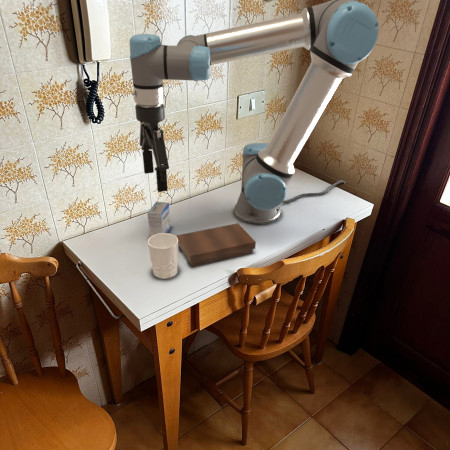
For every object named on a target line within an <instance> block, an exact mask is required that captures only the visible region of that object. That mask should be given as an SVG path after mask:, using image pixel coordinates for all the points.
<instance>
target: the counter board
mask: <svg viewBox="0 0 450 450" xmlns="http://www.w3.org/2000/svg"><path fill="white" fill-rule="evenodd" d="M175 236H176V237H177V238H178V248H179V249H180V251H182V252H183V254H184V256H185V257H186V259H187V260H188V262H189V264H190V266H191V267H197V266H203V265H207V264H210V263H217V262H219V261H224V260H228V259H233V258H237V257H241V256H246V255H250V254H253V250H256V243H257V242H256V240H255V239H254V238H253V237H252V236H251V235H250V234H249V233H248V232H247V231H246V230H245V228H243V226H242V225H241V224H240V223H239V222H236V223H231V224H226V225H221V226H217V227H212V228H207V229H201V230H196V231H191V232H187V233H181V234H177V235H175Z"/></svg>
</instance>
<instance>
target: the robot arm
mask: <svg viewBox="0 0 450 450" xmlns="http://www.w3.org/2000/svg"><path fill="white" fill-rule="evenodd" d="M379 29H380V28H379V21H378V17H377V16H376V14H375V12H374V11H373V9H371V7H369V5H367V4H366V3H363V2H362V1H359V0H329V1H326V2H322V3H319V4H315V5H312V6H311V5H310V6H307V7H304V8H303V10H302V11H301V12H300V13H297V14H292V15H287V16H283V17H278V18H273V19H268V20H263V21H258V22H253V23H249V24H245V25H240V26H235V27H230V28H226V29H221V30H217V31H211V32H207V33H202V34H198V35H193V34H188V35H185V36H183V37H182V38H180V39H179V41H178V42H177V43H176V45H166V44H162V42H161V41H162V40H161V37H160V36H159V35H157V34H151V33H140V34H134V35H132V36H131V37H130V38H129V60H130V68H131V77H132V86H133V91H131V95H132V96H134V97H133V98H134V103H135V106H134V110H135V118H136V121H138V122H139V123H140V127H139V146H140V148H141V152H142V162H143V173H144V174H145V175H146V174H153V173H155V177H156V190H157V193H162V192H168V191H169V189H168V173H167V172H168V171H167V170H169V169H170V165H169V160H168V154H167V149H166V144H165V143H166V142H165V138H164V137H165V136H164V130H163V129H161V127H160V126H159V123H161V122H163V121H165V119H166V113H165V112H166V111H165V105H164V103H165V92H164V91H165V90H164V81H163V80H167V81H169V80H170V81H171V80H172V81H193V82H199V81H208V80H209V79H210V76H211V66H214V65H218V64H224V63H228V62H234V61H238V60H239V61H240V60H244V59H249V58H254V57H258V56H265V55H269V54H274V53H279V52H284V51H289V50H294V49H299V48H305V49H306V50H307V51H309V52H310V59H311V62H310V64H309V66H308V68H307V70H306V72H305V74H304V76H303V77H302V80H301V82H300V83H299V86H298V87H297V89H296V91H295V93H294V95H293V97H292V98H291V101H290V103H289V105H288V107H287V108H286V110H285V112H284V114H283V116H282V118H281V120H280V122H279V123H278V125H277V128H276V129H275V131H274V133H273V134H272V137H271V138H270V141H269V143H267V142H254V143H253V142H252V143H248V144H246V145H244V147H243V148H242V154H241V157H242V161H241V162H242V163H241V188H240V193H239V196H238V198H237V201H236V203H235V204H234V215H235V216H236V217H237V219H239V220H240V221H242V222H245V223H248V224H252V225H253V224H254V225H265V224H266V225H267V224H270V223H273V222H276V221H278V219H280V217H281V211H282V209H281V205H282V204H286V203H291V202H293V201H295V200H298V199H299V198H302V197H307V196H322V195H325V194H327V193H328V192H329V191H330V190H331V189H332V188H334V187H336V186H338V185H339V184H340V183H342V184H344V185H345V184H346V181H345V180H343V179H341V180H340V179H339V180H337V181H336V182H335V183H333V184H331V185H330V186H328V188H327V189H325V190H324V191H320V192H308V193H307V192H306V193H301V194H298V195H296V196H294V197H292V198H290V199H286V196H287V191H288V189H287V186H288V184H289V183H290V181H291V179H292V177H293V175H294V174H295V172H296V169H295V166H294V164H295V161H296V159H297V158H298V156H299V155H300V153H301V151H302V149H303V148H304V146H305V144H306V142H307V141H308V139H309V137H310V135H311V134H312V132H313V130H314V128H315V126H316V125H317V123H318V121H319V119H320V117H321V116H322V114H323V112H324V111H325V109H326V108H327V105H328V104H329V102H330V100H331V99H332V97H333V95H334V93H335V91H336V90H337V89H338V86H339V84H340V83H341V82H342V80H343V79H346V78H347V77H351V76H352V74H353V72H355V69H356V68H357V66H358V64H359V63H360V62H361V61H363V60H365V59H366V58H367V57H368V56H369V55H370V54H371V52H372V51H373V50H374V48H375V47H376V44H377V41H378V39H379V33H380V32H379ZM154 161H155V165H156V167H154Z"/></svg>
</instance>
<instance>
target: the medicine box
mask: <svg viewBox="0 0 450 450" xmlns="http://www.w3.org/2000/svg"><path fill="white" fill-rule="evenodd" d="M170 209H171V208H170V202H165V201H155V203H154V204H153V205H152V207H150V209H149V211H148V212H147V222H148V230H149V238H150V237H151V236H153V235H155V234H159V233H168V232H169V231H170V228H171V227H172V223H171V211H170Z"/></svg>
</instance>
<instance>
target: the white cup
mask: <svg viewBox="0 0 450 450" xmlns="http://www.w3.org/2000/svg"><path fill="white" fill-rule="evenodd" d="M147 246H148V252H149V258H150V259H149V260H150V264H151V268H152V274H153V275H154V276H155V277H157V278H158V279H163V280H165V279H171V278H173V277H175V276H176V275H177V274H178V269H179V268H178V266H179V245H178V238H177V237H176V235H175V234H172V233H168V232H167V233H159V234H155V235H153V236H151V237H150V236H149V238H148V239H147Z"/></svg>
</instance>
